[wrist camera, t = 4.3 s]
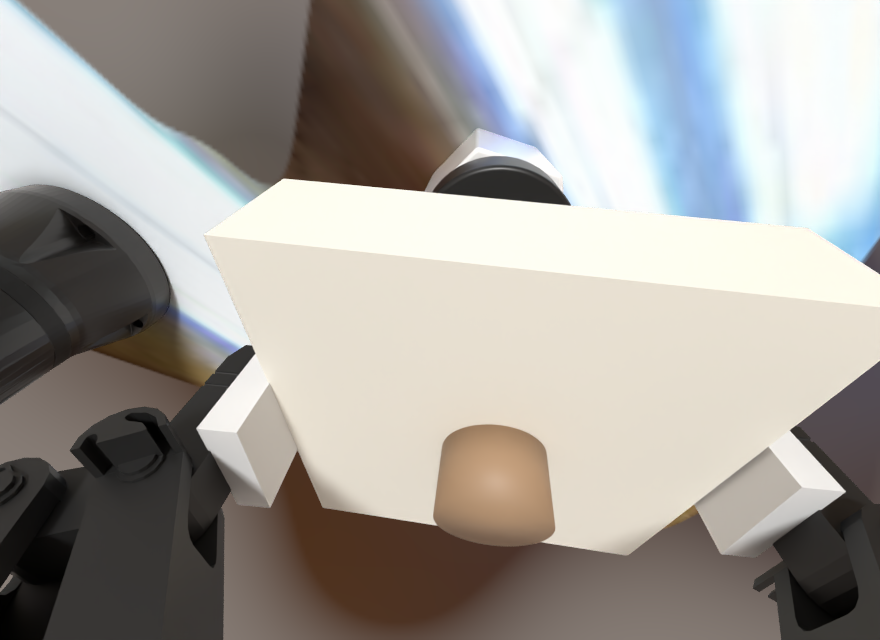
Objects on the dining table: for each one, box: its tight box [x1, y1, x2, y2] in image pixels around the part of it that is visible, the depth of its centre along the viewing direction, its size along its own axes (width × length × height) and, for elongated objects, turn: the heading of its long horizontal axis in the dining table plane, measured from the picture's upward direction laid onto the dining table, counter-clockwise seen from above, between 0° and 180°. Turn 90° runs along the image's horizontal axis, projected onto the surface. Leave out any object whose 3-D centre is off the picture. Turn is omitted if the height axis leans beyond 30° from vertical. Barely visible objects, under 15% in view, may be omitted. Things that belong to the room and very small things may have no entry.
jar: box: [424, 128, 571, 206], centre depth 22 cm, size 9×8×12 cm
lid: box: [204, 179, 880, 555], centre depth 8 cm, size 10×10×4 cm
